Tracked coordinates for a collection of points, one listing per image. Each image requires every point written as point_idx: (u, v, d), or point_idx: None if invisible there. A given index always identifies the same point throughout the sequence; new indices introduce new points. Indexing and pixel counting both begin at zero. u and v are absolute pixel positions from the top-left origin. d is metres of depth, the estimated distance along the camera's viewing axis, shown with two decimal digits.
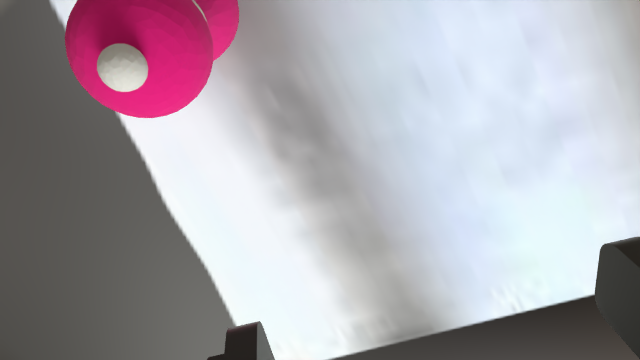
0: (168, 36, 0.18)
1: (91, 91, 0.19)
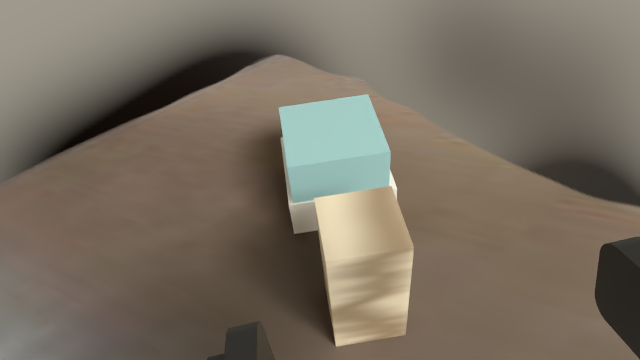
0: None
1: None
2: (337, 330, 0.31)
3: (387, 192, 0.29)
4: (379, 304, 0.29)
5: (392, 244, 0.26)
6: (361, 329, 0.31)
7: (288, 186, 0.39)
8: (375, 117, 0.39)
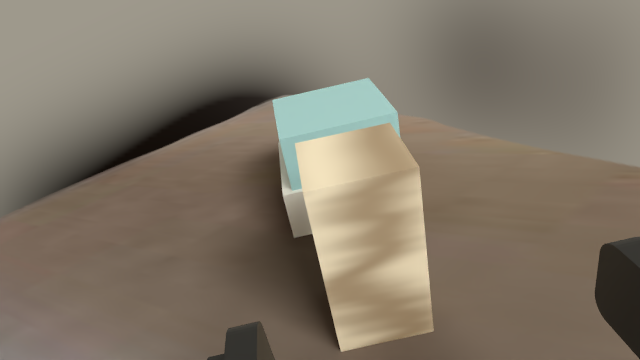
0: None
1: None
2: (338, 321, 0.23)
3: (384, 128, 0.23)
4: (387, 273, 0.22)
5: (390, 167, 0.20)
6: (371, 320, 0.23)
7: (283, 179, 0.34)
8: (378, 91, 0.34)
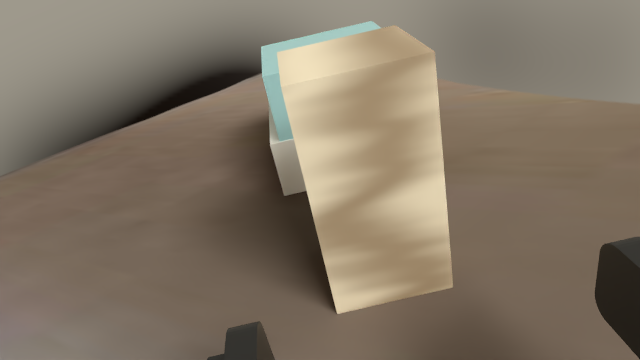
0: None
1: None
2: (332, 272, 0.18)
3: (388, 29, 0.19)
4: (395, 206, 0.17)
5: (396, 56, 0.15)
6: (374, 271, 0.19)
7: (272, 130, 0.29)
8: None
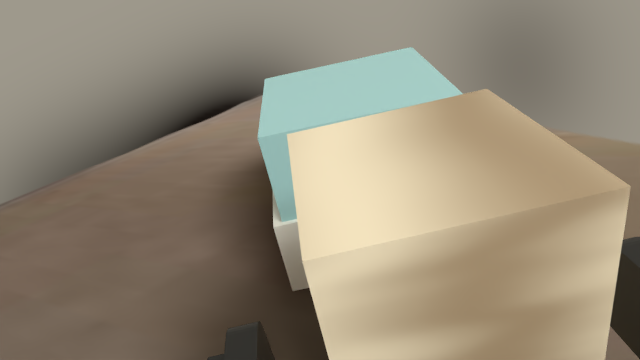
0: None
1: None
2: None
3: (480, 98, 0.11)
4: None
5: (540, 188, 0.07)
6: None
7: None
8: (427, 64, 0.21)
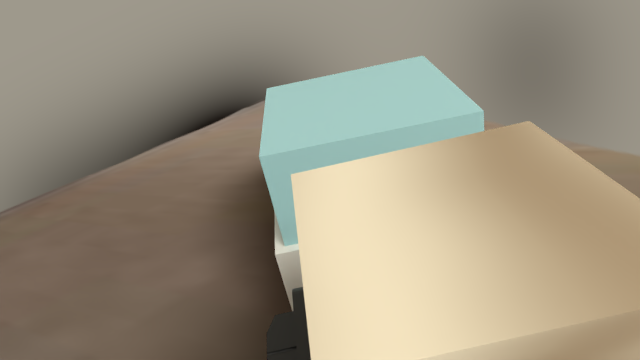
0: None
1: None
2: None
3: (523, 134, 0.09)
4: None
5: (629, 277, 0.05)
6: None
7: None
8: (441, 75, 0.20)
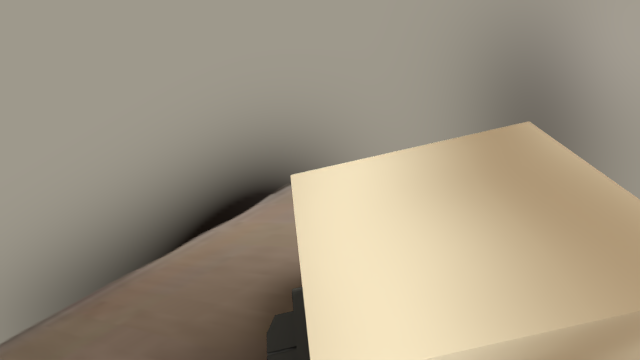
0: None
1: None
2: None
3: (522, 135, 0.09)
4: None
5: (628, 278, 0.05)
6: None
7: None
8: None
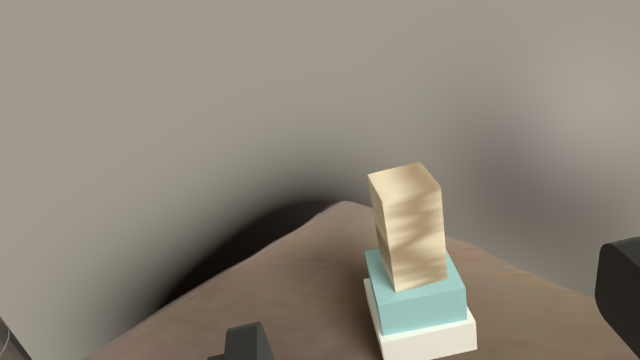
0: None
1: None
2: (395, 273, 0.41)
3: (417, 165, 0.42)
4: (423, 244, 0.40)
5: (425, 187, 0.38)
6: (413, 272, 0.42)
7: (377, 324, 0.45)
8: (448, 257, 0.45)
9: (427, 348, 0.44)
